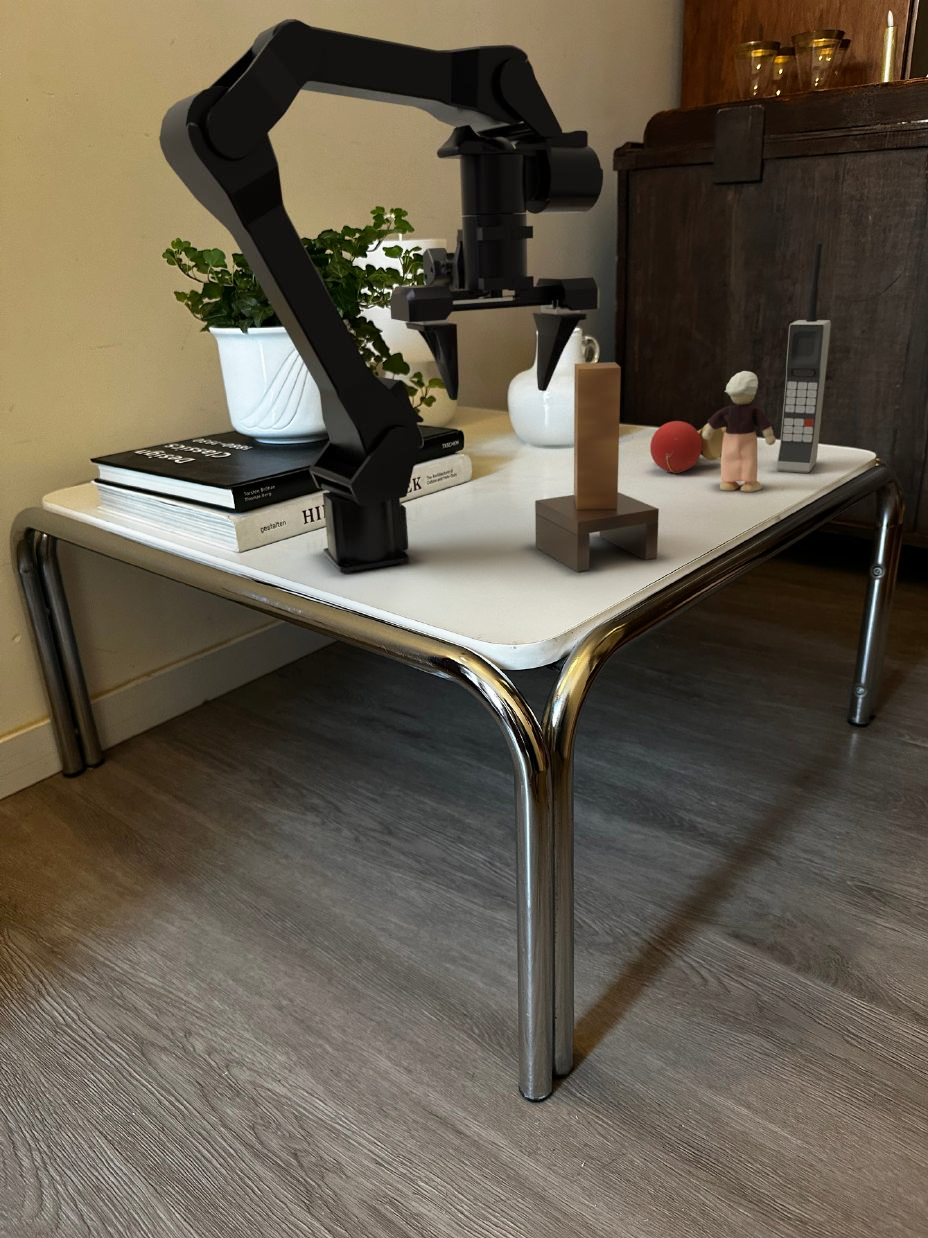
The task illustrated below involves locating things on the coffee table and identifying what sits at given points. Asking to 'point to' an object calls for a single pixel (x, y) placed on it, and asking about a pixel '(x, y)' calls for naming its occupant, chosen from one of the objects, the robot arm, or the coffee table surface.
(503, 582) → the coffee table surface
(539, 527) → the shelf
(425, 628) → the coffee table surface
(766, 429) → the grandmother figurine
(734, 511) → the coffee table surface
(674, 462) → the kendama
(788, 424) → the vintage mobile phone
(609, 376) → the block
